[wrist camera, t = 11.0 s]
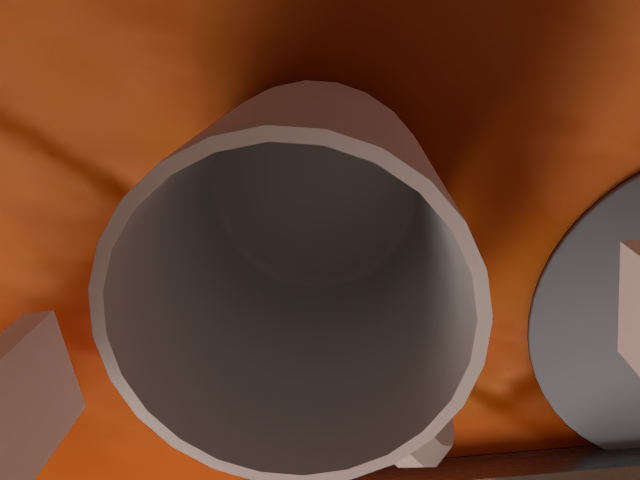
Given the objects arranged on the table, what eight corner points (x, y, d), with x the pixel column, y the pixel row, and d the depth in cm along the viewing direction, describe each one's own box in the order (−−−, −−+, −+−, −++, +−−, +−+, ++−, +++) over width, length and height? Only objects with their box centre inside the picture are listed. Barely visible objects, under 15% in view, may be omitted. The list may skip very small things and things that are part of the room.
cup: (346, 27, 17) (344, 28, 8) (508, 286, 19) (628, 482, 11) (160, 161, 18) (4, 273, 10) (332, 382, 21) (321, 616, 13)
